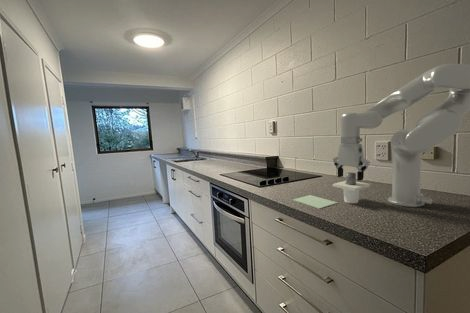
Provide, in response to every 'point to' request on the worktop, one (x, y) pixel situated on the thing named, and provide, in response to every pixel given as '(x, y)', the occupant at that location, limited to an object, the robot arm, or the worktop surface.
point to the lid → (351, 183)
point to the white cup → (351, 196)
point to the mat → (315, 201)
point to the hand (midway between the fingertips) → (349, 178)
